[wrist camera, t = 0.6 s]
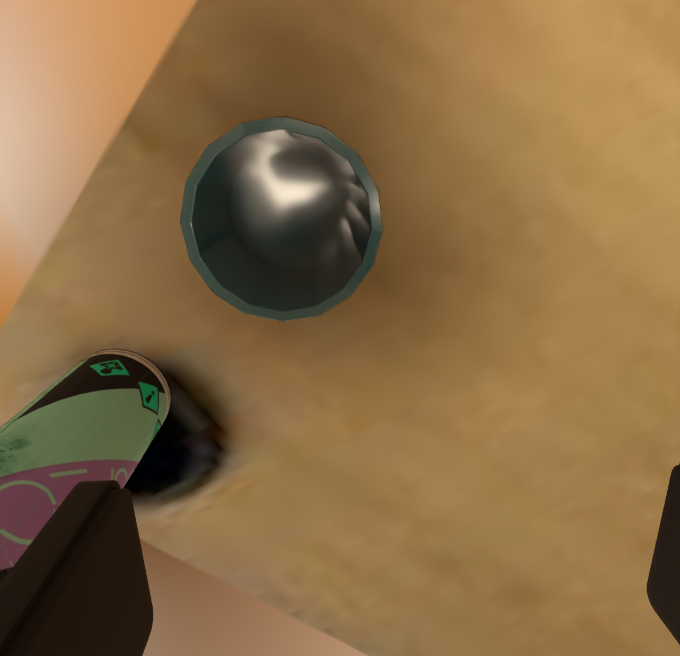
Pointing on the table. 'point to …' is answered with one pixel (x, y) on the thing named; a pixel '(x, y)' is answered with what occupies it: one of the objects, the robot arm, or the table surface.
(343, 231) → the cup
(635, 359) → the table surface
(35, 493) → the spray can
